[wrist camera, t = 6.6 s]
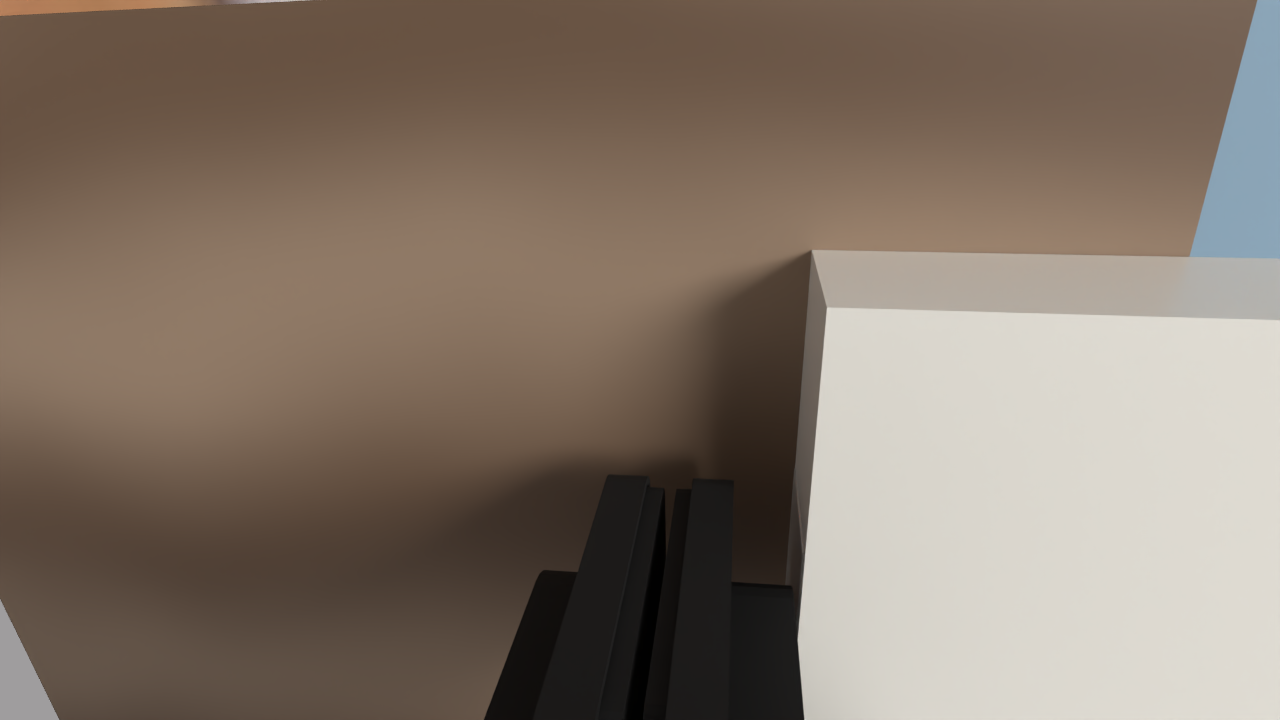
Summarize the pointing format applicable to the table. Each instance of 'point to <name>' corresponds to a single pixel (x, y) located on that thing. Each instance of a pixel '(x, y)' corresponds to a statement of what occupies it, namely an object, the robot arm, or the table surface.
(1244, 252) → the mat
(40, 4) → the table surface
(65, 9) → the table surface
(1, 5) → the table surface
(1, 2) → the table surface
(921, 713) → the off-white flat slab
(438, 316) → the brown wooden block
